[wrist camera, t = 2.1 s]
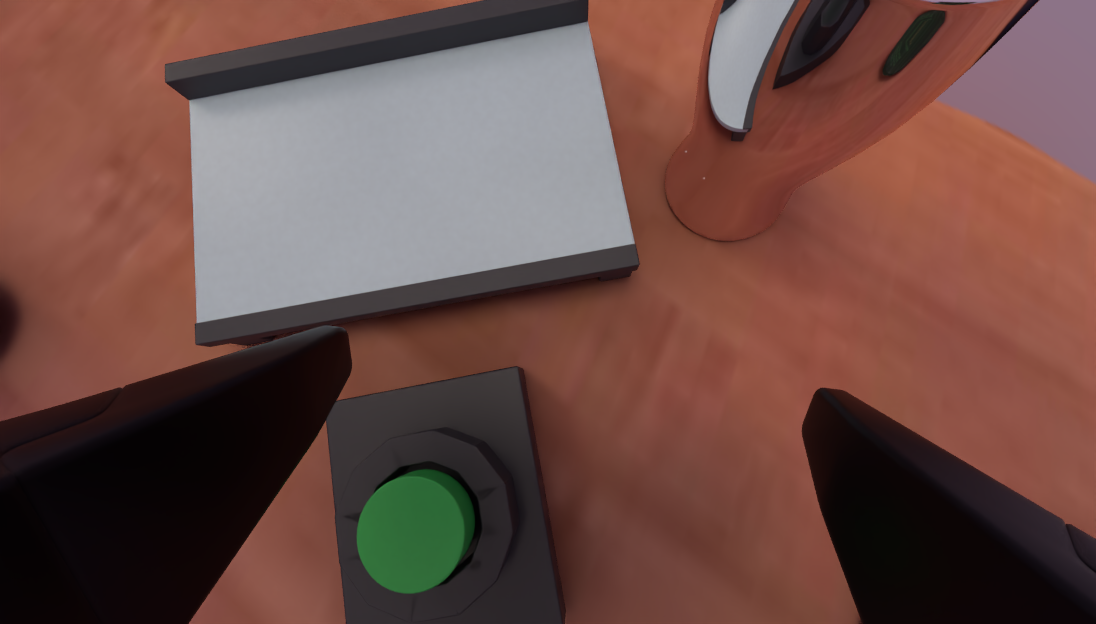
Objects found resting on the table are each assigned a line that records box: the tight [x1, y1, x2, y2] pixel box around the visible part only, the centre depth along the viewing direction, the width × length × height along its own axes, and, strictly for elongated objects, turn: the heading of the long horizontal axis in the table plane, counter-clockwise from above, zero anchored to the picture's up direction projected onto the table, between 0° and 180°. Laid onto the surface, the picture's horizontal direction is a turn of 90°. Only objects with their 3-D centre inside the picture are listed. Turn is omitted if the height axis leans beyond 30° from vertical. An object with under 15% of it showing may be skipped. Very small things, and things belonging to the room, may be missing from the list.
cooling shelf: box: [165, 0, 640, 347], centre depth 23 cm, size 13×20×4 cm, turn 100°
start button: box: [357, 469, 475, 594], centre depth 18 cm, size 4×4×2 cm
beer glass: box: [665, 0, 1039, 241], centre depth 17 cm, size 7×7×15 cm
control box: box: [326, 366, 566, 624], centre depth 21 cm, size 11×9×4 cm
